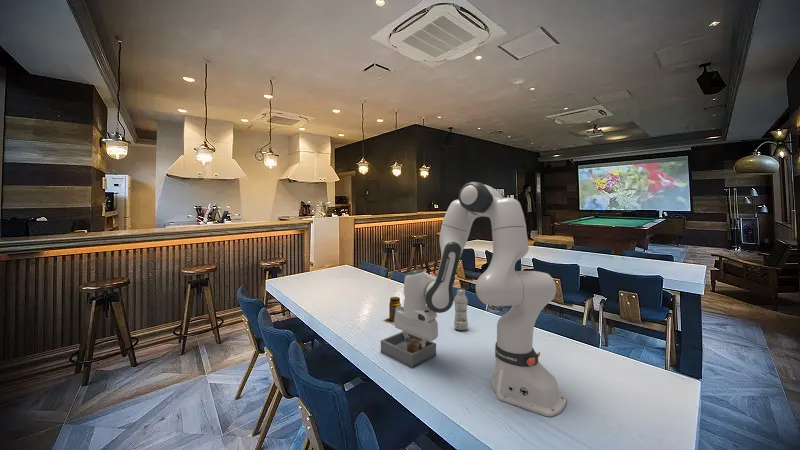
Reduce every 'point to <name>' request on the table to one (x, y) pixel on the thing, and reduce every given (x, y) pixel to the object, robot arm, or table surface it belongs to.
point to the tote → (398, 350)
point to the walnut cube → (413, 345)
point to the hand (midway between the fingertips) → (414, 344)
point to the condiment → (393, 309)
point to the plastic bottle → (460, 310)
